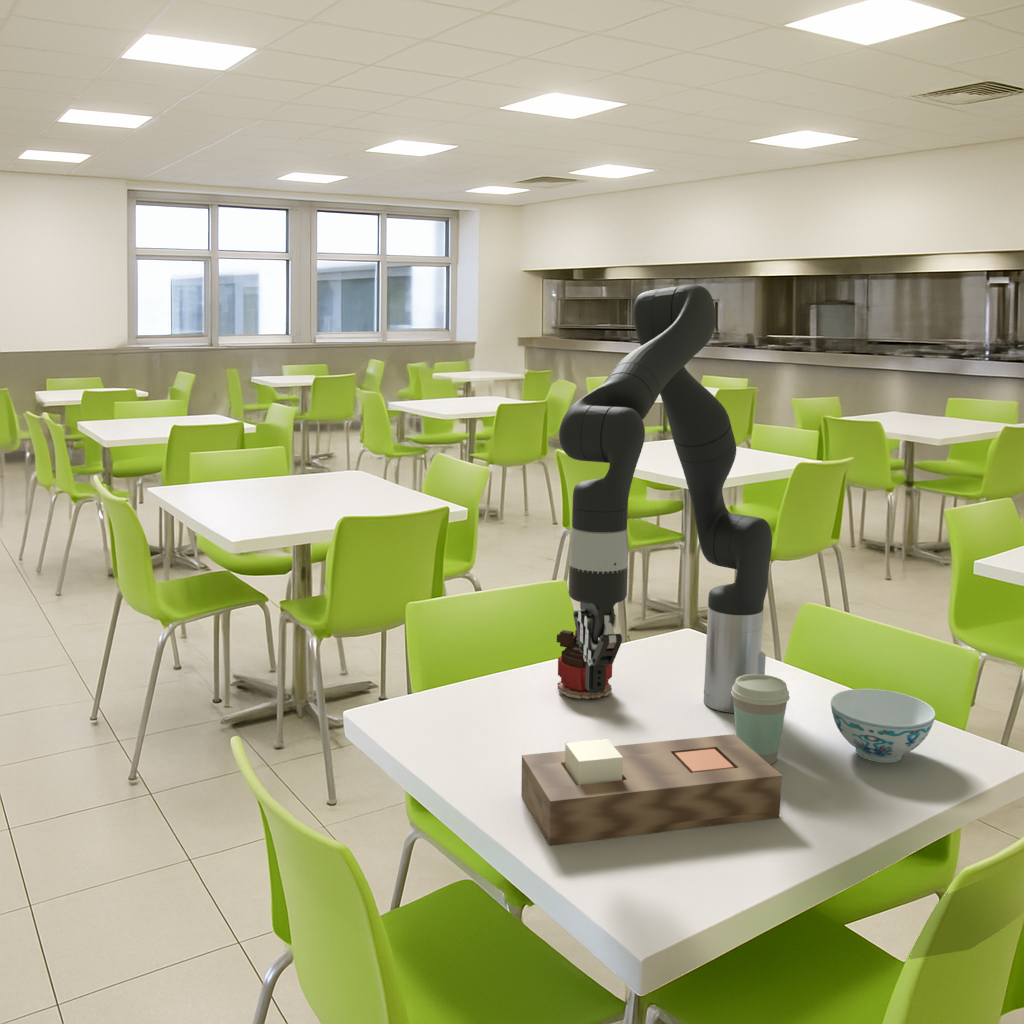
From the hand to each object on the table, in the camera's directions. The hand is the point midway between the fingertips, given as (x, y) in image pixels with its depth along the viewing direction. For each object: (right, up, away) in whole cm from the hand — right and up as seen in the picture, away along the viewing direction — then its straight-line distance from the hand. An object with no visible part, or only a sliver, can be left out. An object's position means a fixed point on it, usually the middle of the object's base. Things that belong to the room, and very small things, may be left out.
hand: (594, 690), depth 133 cm
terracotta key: (+15, -15, +7) cm, 22 cm away
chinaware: (+45, -14, +23) cm, 53 cm away
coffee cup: (+26, -14, +21) cm, 36 cm away
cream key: (0, -12, +2) cm, 12 cm away
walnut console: (+8, -17, +5) cm, 19 cm away
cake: (+2, -9, +47) cm, 48 cm away
